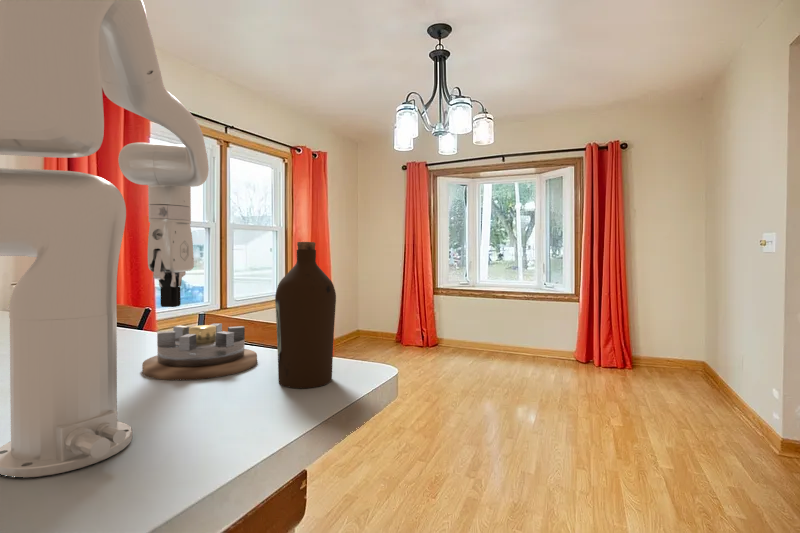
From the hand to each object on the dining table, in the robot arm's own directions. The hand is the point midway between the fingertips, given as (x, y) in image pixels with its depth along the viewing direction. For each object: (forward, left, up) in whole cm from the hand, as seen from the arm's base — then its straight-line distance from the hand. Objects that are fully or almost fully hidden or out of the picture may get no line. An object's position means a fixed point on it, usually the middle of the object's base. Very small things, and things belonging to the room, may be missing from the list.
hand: (170, 306), depth 87 cm
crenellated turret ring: (-6, -3, -10) cm, 12 cm away
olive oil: (-31, -5, -12) cm, 34 cm away
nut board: (-6, -3, -12) cm, 14 cm away
